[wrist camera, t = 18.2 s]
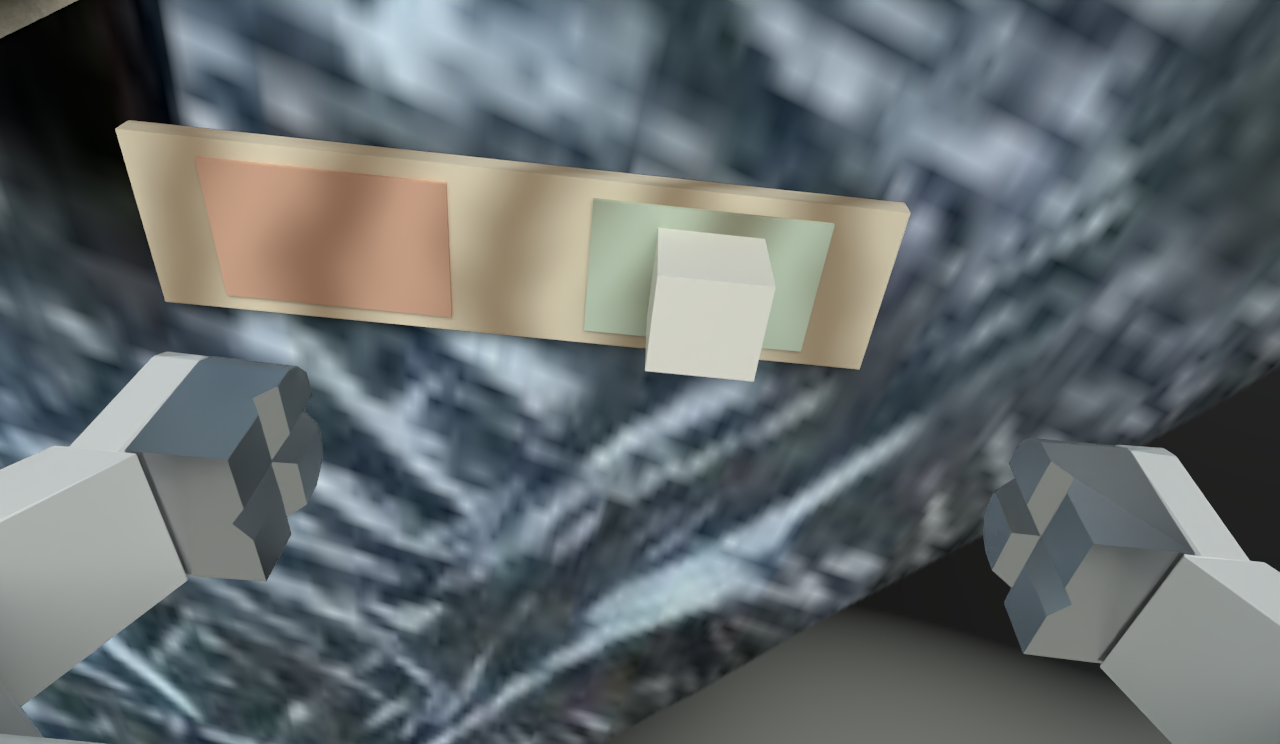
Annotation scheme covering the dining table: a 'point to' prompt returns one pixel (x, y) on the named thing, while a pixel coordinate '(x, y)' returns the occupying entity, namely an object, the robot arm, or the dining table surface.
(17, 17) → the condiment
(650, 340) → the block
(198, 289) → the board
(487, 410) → the dining table surface
